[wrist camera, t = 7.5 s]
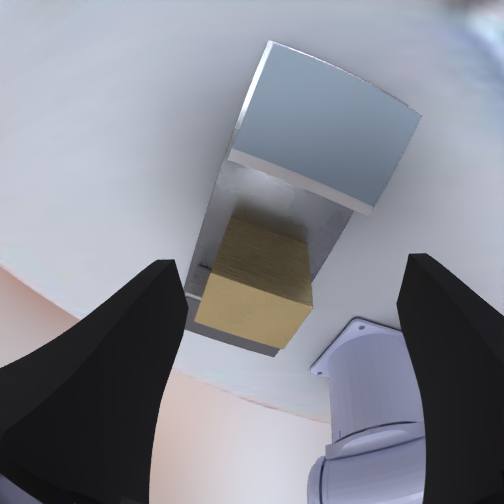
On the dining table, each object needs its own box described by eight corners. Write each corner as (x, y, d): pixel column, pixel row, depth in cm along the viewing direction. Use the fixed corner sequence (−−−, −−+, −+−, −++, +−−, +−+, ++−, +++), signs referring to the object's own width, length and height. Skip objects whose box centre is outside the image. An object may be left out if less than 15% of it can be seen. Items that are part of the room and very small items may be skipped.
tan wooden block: (307, 245, 18) (313, 307, 14) (285, 285, 20) (283, 349, 16) (230, 216, 18) (210, 272, 13) (214, 260, 20) (194, 321, 15)
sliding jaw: (399, 107, 13) (422, 116, 10) (356, 194, 16) (368, 217, 13) (274, 49, 12) (272, 42, 10) (237, 145, 15) (227, 160, 13)
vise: (403, 104, 13) (433, 113, 10) (281, 322, 23) (279, 360, 20) (269, 42, 13) (265, 31, 9) (184, 289, 22) (169, 325, 19)
